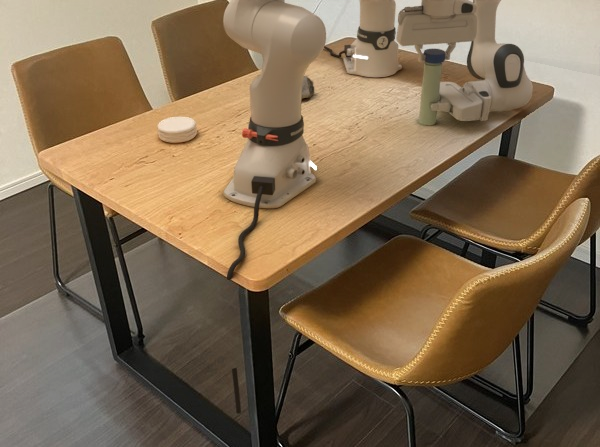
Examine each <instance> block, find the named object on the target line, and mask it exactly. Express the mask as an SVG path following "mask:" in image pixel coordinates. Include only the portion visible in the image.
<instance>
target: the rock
mask: <svg viewBox="0 0 600 447" xmlns="http://www.w3.org/2000/svg"><path fill="white" fill-rule="evenodd" d="M314 94H315V86H314V81H313V80H312V79H310V77H308V76H306V75H304V78H303V82H302V92H301V100H303V99H305V98H306V99H309V98H311V97H312V96H313V95H314Z"/></svg>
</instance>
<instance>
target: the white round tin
mask: <svg viewBox="0 0 600 447" xmlns="http://www.w3.org/2000/svg"><path fill="white" fill-rule="evenodd" d="M156 128H157V133H158V137H159V139H160V140H161V141H163V142H166V143H171V144H179V143H185V142H188V141H191V140H193V139H194V138H195V137H196V136H197V135H198V130H197V128H198V127H197V121H195V119H193V118H191V117H188V116H171V117H167V118H164V119H162V120H161V121H159V123H157V126H156Z"/></svg>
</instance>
